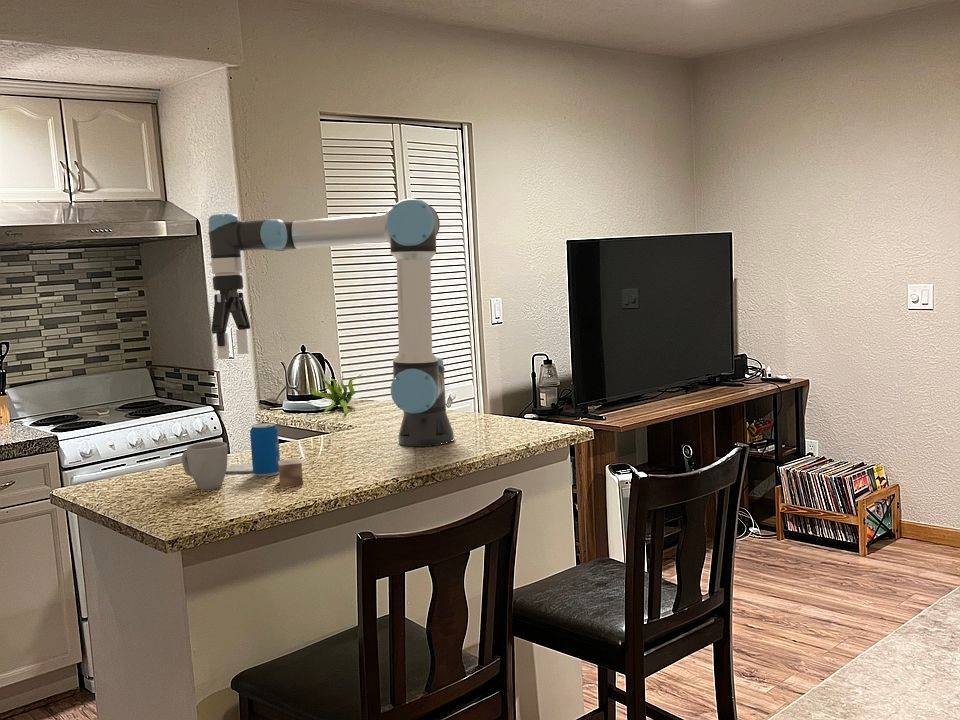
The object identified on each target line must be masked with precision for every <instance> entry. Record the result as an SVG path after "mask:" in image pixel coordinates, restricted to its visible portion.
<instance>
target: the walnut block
mask: <svg viewBox="0 0 960 720" xmlns="http://www.w3.org/2000/svg"><path fill="white" fill-rule="evenodd" d="M278 467H279V472H278V478H279V479H278V480H279V481H278V482H279V487H280V488H282V487H283V488H284V487H285V488H286V487H292V486H293V487H294V486H302V485H304V482H303V481H304V479H303V466H302V460H301V458H298V459H297V458H296V459H287V460H280V461H278Z"/></svg>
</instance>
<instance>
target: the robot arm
mask: <svg viewBox="0 0 960 720" xmlns="http://www.w3.org/2000/svg"><path fill="white" fill-rule="evenodd" d="M440 225H441V223H440V217H439V214H438V212H437V211H436V210H435V208H433V207H432V206H431V205H430V204H429V203H427V202H425V201H424V200H422V199H419V198H406V199H403V200H399V201H398V202H397V203H395V204H394V205H393V206H392V207H391V208H389V209H388V210H387V211H386V212H385V213H376V214H374V213H373V214H364V215H351V216H350V215H349V216H340V217H327V218H317V219H316V218H313V219H308V220H307V219H305V220H304V219H303V220H293V221H283V220H281V219H274V218H273V219H269V218H268V219H262V220H260V219H259V220H249V221H248V220H247V221H246V220H245V221H244V220H243V221H241V220H240V219H239V216H238V215H237V214H234V213H227V214H226V213H225V214H224V213H222V214H220V213H218V214H212V215H211V216H209V218H208V239H209V250H210V258H211V259H210V263H209V265H210V266H211V270H212V271H211V272H212V275H214V276H213V277H212V287H213V291H215V292H217V291H219V293H217V294H214V295H213V296H214V297H213V299H214V300H213V302H214V305H213V315H212V321H211V334H212V335H215V338H216V348H217V349H216V350H217V360H228V359H230V350H229V336H228V332H226V331H227V327H228V323H229V318H230V314H231V316H232V319H233V321H234V324H235V326H236V328H237V329H236V330H235V334H236V335H235V336H236V345H237V354H238V355H248V354H249V343H248V330H250V329H251V325H250V324H251V322H250V320H249V316H248V313H247V312H248V311H247V308H246V304H245V301H244V293H243V292H238V290H243V288H244V279H243V278H244V277H243V275H241V273H243V265H242V263H243V262H242V255H241V253H242V252H245V251H262V250H263V251H274V252H284V251H289V250H290V251H291V250H298V249H300V250H301V249H313V248H314V249H315V248H325V247H336V246H349V245H350V246H351V245H352V246H353V245H362V244H363V245H364V244H376V243H385V242H387V243H389V245H390V255H391V256H392V257H394V258H395V261H396V279H397V280H396V281H397V282H396V285H397V288H396V289H397V291H396V292H397V328H398V329H397V333H398V334H397V336H398V353H397V355H396V356H395V357H394V358H393V360H392V367H393V368H392V369H393V370H392V371H393V372H392V373H393V374H392V375H393V377H392V378H393V379H392V382H391V383H390V384H391V385H390V395H391V398H392V401H393V403H394V405H396V407H397V408H399V410H401V411H403V416H402V417H403V418H402V420H401V423H400V424H401V425H400V428H399V430H398V431H399V432H398V443H399V445H401V446H406V447H431V445H434V446H438V445H437V444H441V443H446V442H449V441H451V440H453V439H454V440H455V436H454V435H455V433H454V430H453V427H452V425H451V422H450V419H449V417H448V414H447V407H446V405H447V403H446V385H445V384H446V383H445V371H446V369H445V366H444V365H445V364H444V361H443V359H442V358H440V357H437V356H436V355H434V353H433V337H432V336H433V333H432V332H433V328H432V327H433V325H432V321H433V319H432V278H431V276H432V275H431V274H432V271H431V270H432V269H431V268H432V267H431V266H432V265H431V260H432V258H433V257H434V256H435V255H436V254H437V236H438V233H439V232H440V231H439V230H440ZM454 440H453V441H454ZM449 443H450V442H449ZM446 444H447V443H446ZM441 445H442V444H441Z"/></svg>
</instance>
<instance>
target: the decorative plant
mask: <svg viewBox="0 0 960 720" xmlns="http://www.w3.org/2000/svg"><path fill="white" fill-rule="evenodd" d="M341 371H342V373H344V372H343V370H341ZM327 375H329V374H328V373H327ZM321 376H322V375H320V380H322V381H323V382H324V384H325V385H326V386H327V389H328V390H329V391H330V393H328V392H320V391H316V389H315V388H310V387H308V389H309V390H311V394H312V395H313V396H317V397H321V398H324V399H328V400H331V401H332V402H331V403H330V405H329V406H328V407H326V409H324V411H323V412H322V413H321V414H320V416H322V415H324V414H326V412H328V411H330V410H332V409H333V408H334V407H337V406H341V407H342V408H343V411H344V412H343V413H344V415H345V416H346V415H348V413H349V409H348V407H347V404H349V403H350V402H351V400H352V397H353V396H354V395H355V394H356V391H355V388H354V387H353V381H354V380H356V379H358V378H360V377H361V376H362V373H361V374H359V375H357V376H355V377H353V378H350V379H349V381H348V384H347V385H348V387H347V386H346V385H345V384H344V379H343V378H344V374H342V376H341V381H340V384H339V382H338V381H336V380H335V378H329V376H328V377H327V379H328V380H329V382H328V381H327V380H325V379H324V378H322V377H321ZM330 382H333V385H332V384H330ZM342 390H343V391H342ZM348 390H349V392H348ZM347 392H348V393H347ZM315 415H317V416H318V414H316V413H315Z"/></svg>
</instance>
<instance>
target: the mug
mask: <svg viewBox="0 0 960 720" xmlns="http://www.w3.org/2000/svg"><path fill="white" fill-rule="evenodd" d="M181 464H182V468H183V470H184V472H185V474H186V475H187V476H188V477H191V478H192V479H193V481H194V483H195V485H196V486H197V489H198V490H201V491H202V490H203V491H205V490H206V491H209V490H215V489H219V488H222V486H223V483H224V479H225V476H226V475H227V474H226V469H227V468H228V445H227V443H226V442H224V441H207V442H198V443H194V444H190V445H188V446H187V447H186V450H184V451H183V452H182V454H181Z"/></svg>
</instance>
